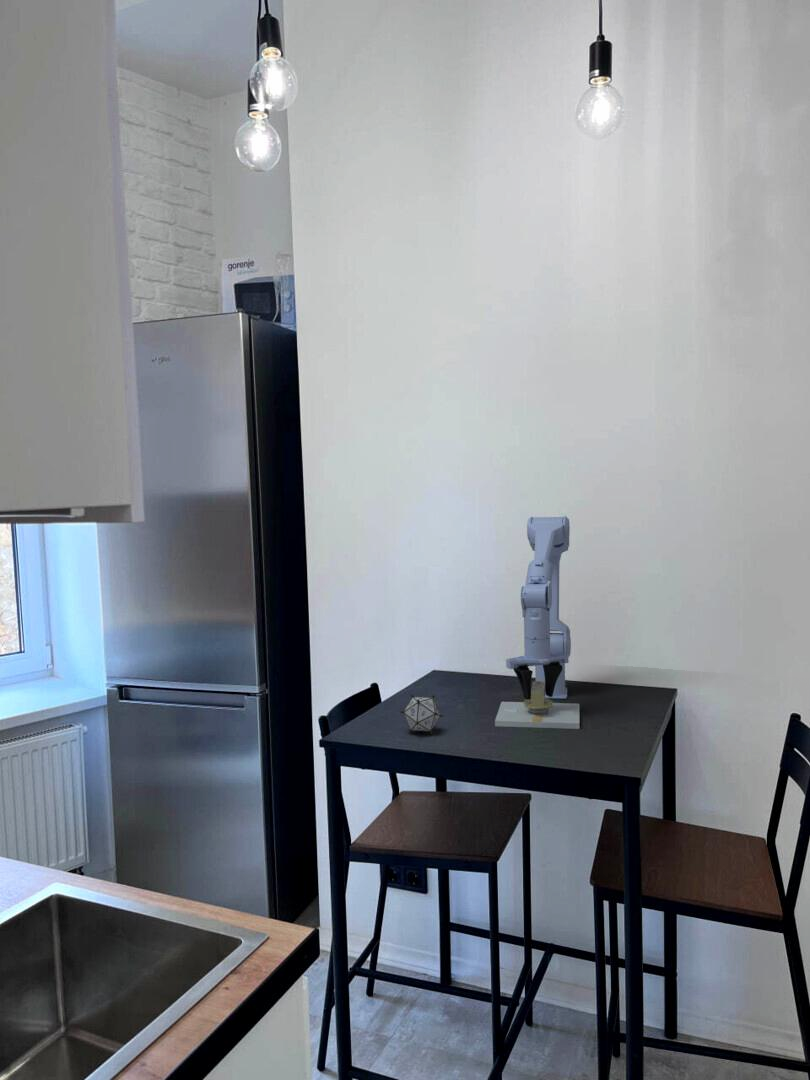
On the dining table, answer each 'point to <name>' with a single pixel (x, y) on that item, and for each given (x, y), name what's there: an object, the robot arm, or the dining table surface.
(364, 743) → the dining table surface
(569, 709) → the lock plate
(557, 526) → the robot arm
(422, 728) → the game die
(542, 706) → the door handle
